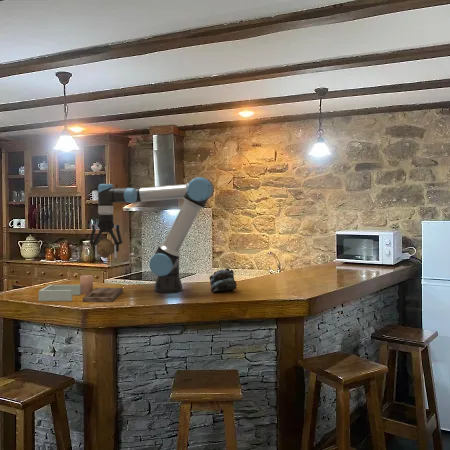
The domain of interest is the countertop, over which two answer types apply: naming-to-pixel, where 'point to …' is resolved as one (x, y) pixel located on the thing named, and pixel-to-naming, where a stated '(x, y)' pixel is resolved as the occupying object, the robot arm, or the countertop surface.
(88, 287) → the brown rounded block
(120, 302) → the countertop surface
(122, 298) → the countertop surface
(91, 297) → the brown wooden tray
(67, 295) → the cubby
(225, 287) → the grey animal figurine
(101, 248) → the natural sponge
